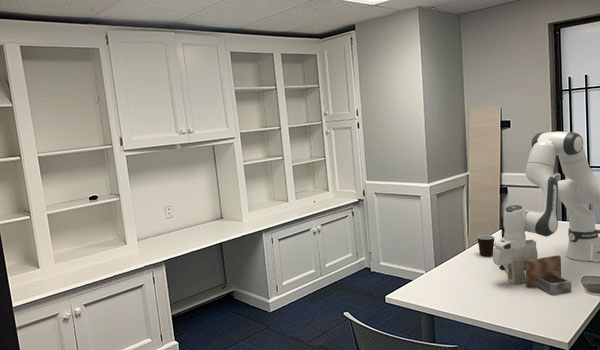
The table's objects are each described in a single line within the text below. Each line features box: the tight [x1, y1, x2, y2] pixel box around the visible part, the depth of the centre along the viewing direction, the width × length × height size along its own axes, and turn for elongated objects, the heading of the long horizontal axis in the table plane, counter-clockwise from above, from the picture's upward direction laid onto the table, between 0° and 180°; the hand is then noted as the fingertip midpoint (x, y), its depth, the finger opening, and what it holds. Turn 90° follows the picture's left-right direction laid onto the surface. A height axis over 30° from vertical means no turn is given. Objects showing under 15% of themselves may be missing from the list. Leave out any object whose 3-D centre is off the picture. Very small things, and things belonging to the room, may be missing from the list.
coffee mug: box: [476, 234, 496, 258], centre depth 247 cm, size 12×9×10 cm
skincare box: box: [506, 256, 526, 285], centre depth 207 cm, size 6×4×12 cm
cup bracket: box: [525, 254, 572, 296], centre depth 196 cm, size 16×12×12 cm
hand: (515, 271), depth 207 cm, fingers closed on skincare box, 6 cm apart
